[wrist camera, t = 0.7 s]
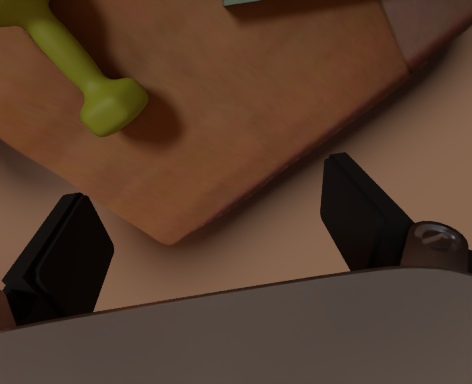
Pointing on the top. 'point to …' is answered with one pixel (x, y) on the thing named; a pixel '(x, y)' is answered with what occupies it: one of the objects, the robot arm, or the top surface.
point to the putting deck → (235, 2)
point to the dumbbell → (78, 67)
